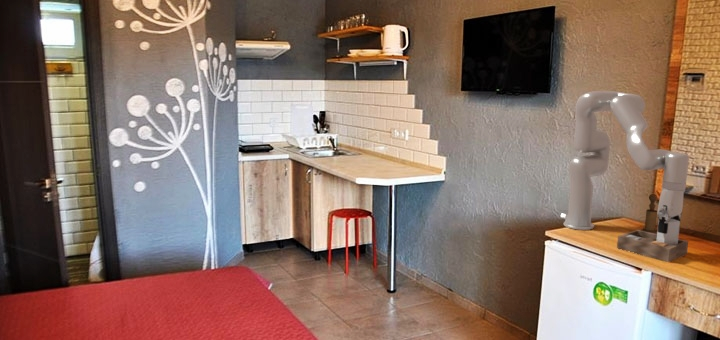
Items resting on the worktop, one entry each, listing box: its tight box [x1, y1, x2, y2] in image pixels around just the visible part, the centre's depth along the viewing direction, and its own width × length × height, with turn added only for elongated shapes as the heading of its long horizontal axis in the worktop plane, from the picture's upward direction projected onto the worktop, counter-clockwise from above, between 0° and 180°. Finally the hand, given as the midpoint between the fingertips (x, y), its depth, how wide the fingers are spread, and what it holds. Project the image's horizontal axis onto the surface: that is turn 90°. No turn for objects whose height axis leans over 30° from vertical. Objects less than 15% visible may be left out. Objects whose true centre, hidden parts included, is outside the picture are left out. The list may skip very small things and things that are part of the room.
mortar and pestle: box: [640, 193, 658, 234], centre depth 223 cm, size 7×6×18 cm
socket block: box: [616, 229, 689, 263], centre depth 205 cm, size 19×15×5 cm
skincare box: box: [656, 218, 681, 246], centre depth 202 cm, size 6×4×12 cm
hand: (668, 230), depth 202 cm, fingers open, 9 cm apart
